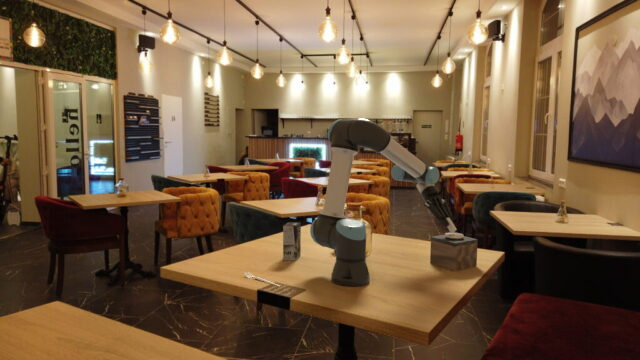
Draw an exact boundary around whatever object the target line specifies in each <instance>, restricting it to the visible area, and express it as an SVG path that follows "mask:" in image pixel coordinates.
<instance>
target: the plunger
mask: <svg viewBox="0 0 640 360" xmlns="http://www.w3.org/2000/svg"><path fill="white" fill-rule="evenodd" d="M444 235H445V238H446V239H451V240H462V239H464V236H465V235H464V234H463V233H459V232H454V233H450V232H445V233H444Z"/></svg>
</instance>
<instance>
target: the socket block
mask: <svg viewBox="0 0 640 360" xmlns="http://www.w3.org/2000/svg"><path fill="white" fill-rule="evenodd" d="M478 241H479V240H478V239H477V238H474V237H473V238H472V237H469V236H465V235H464V239H462V240H451V239H446V238H445V234H441V235H440V234H439V235H435V236H434V235H433V236H431V237H430V255H429V257H430V259H429V263H430V264H433V265H435V266H439V267H441V268H443V269H447V270H450V271H453V272H457V271H460V270H466V269H470V268H475V267H477V263H478V262H477V261H478V244H479V243H478Z"/></svg>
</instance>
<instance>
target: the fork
mask: <svg viewBox="0 0 640 360" xmlns="http://www.w3.org/2000/svg"><path fill="white" fill-rule="evenodd" d="M243 274H244V276H245V277H246V278H247V279H249V278H252V277H256V278H253V279H252V280H258V281H261V282H263V281H264V283H267V284H269V283H270V285H273V286H276V285H277V286H276V287H280V286H281V285H280V284H278V283H274V282H272V281H269V280H267V279H264V278H262V277H260V276H254V275H253V274H252V273H251V272H250V271H245V272H243Z"/></svg>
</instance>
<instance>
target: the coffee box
mask: <svg viewBox="0 0 640 360" xmlns="http://www.w3.org/2000/svg"><path fill="white" fill-rule="evenodd" d="M301 224H302V222H298V221H297V222H292V221H291V222H289V221H287V223H285V224H284V225H282V229H283V231H282V238H283V239H282V246H283V247H282V260H283V261H291V262H293V261H294V262H296V261H298V260H299V258H300V257H301V252H302V247H301V246H302V243H301V242H302V241H301V237H302V236H301V235H302V234H301V233H302V232H301V230H302V229H301V228H302V226H301Z"/></svg>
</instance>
